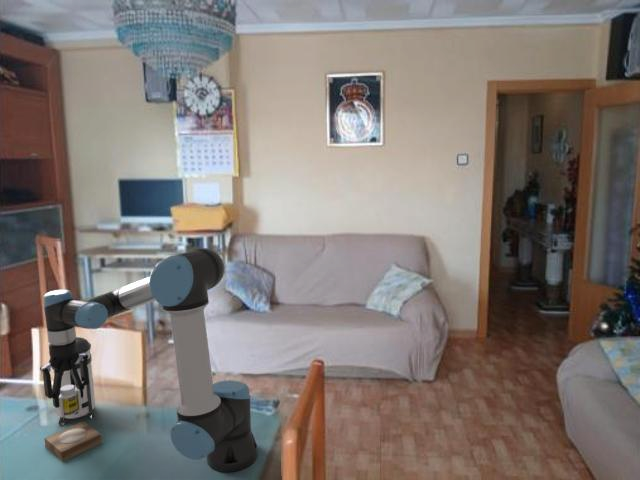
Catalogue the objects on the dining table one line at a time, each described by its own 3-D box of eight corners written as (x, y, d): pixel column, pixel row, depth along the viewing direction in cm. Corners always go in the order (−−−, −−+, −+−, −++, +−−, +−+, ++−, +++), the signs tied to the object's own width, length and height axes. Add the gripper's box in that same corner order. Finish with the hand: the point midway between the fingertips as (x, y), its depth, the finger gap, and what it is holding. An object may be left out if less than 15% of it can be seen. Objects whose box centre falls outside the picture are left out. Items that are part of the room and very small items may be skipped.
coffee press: (40, 422, 167) (30, 339, 162) (79, 401, 182) (71, 323, 176) (77, 433, 160) (68, 346, 155) (115, 410, 175) (107, 330, 170)
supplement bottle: (71, 417, 150) (68, 392, 148) (57, 415, 150) (54, 390, 149) (81, 409, 154) (79, 384, 153) (68, 407, 155) (65, 383, 154)
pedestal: (101, 442, 155) (100, 433, 154) (62, 461, 146) (61, 451, 145) (83, 429, 162) (82, 421, 162) (45, 446, 153) (44, 437, 153)
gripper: (85, 329, 157) (92, 397, 161) (25, 347, 144) (34, 420, 148) (97, 335, 153) (103, 404, 157) (36, 353, 139) (44, 428, 143)
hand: (69, 411), depth 152 cm, fingers closed on supplement bottle, 5 cm apart
